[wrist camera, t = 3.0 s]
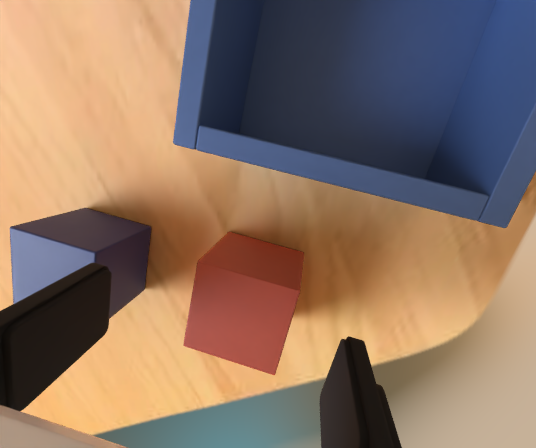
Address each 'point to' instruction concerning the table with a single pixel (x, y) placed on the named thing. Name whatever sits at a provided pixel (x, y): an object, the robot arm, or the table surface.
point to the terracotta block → (244, 301)
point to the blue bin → (370, 96)
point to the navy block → (80, 252)
